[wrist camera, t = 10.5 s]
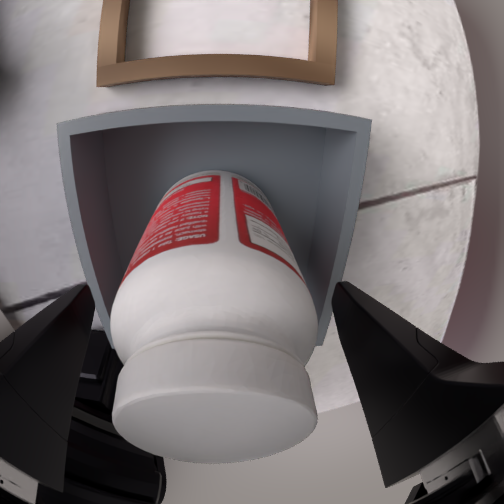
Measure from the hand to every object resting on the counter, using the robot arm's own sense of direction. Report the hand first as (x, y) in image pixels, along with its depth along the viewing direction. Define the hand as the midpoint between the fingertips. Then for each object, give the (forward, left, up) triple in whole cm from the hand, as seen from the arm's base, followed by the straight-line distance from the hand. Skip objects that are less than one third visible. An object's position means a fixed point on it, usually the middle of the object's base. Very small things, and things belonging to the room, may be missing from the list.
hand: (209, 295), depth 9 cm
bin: (0, 0, -6) cm, 7 cm away
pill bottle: (0, 0, -6) cm, 6 cm away
